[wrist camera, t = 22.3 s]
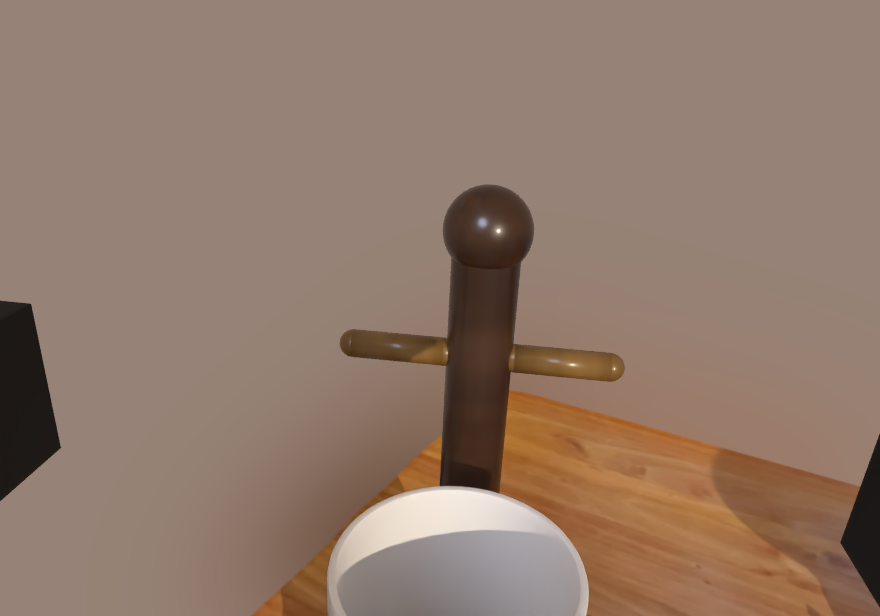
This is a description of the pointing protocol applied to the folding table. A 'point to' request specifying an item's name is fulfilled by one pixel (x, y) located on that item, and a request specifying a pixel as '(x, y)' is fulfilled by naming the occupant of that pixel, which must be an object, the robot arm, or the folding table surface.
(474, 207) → the mug stand
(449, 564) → the mug
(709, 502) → the folding table surface
